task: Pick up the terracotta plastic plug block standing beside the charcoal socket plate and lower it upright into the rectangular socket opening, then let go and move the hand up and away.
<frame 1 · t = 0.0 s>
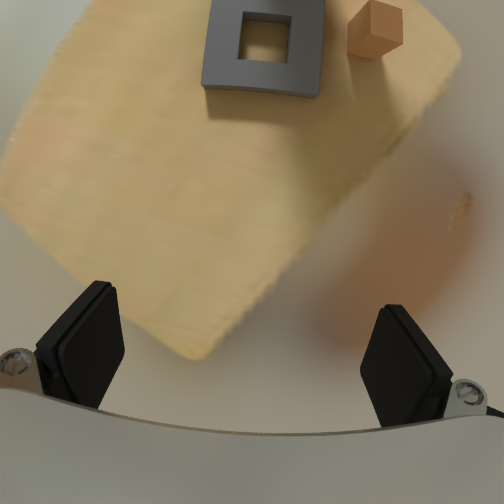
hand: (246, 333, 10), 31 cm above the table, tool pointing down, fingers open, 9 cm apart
socket plate: (264, 43, 33), on the table
plug: (361, 41, 32), on the table
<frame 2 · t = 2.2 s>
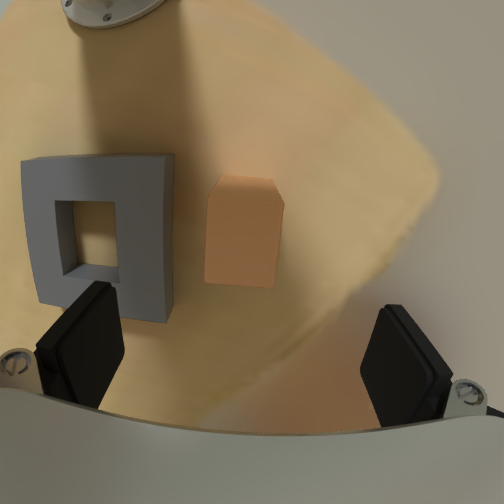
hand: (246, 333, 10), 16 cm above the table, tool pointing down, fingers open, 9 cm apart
socket plate: (100, 230, 26), on the table
plug: (244, 206, 25), on the table
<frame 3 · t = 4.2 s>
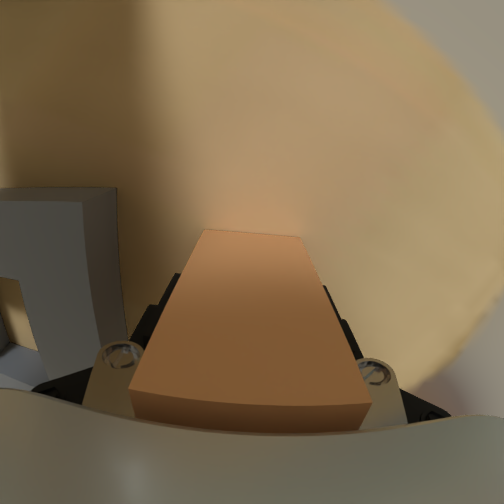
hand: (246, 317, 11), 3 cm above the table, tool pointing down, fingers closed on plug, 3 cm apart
socket plate: (26, 306, 14), on the table
plug: (247, 287, 14), on the table, touching gripper
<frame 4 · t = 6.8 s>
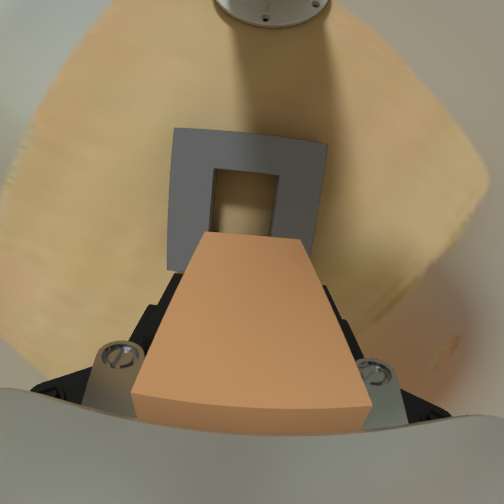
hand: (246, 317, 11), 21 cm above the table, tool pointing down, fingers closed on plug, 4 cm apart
socket plate: (243, 202, 31), on the table
plug: (247, 289, 14), point 19 cm above the table, touching gripper
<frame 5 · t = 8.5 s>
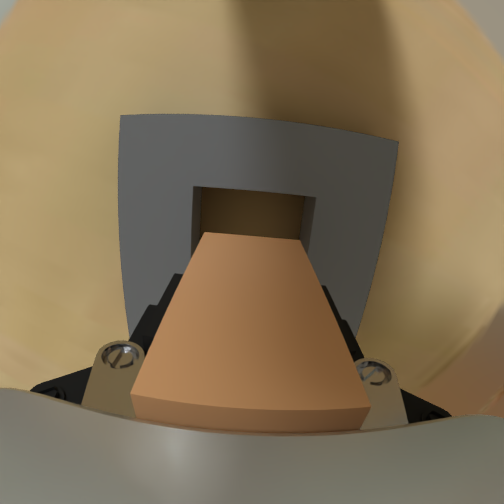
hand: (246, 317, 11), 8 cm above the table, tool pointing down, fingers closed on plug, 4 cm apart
socket plate: (249, 239, 19), on the table
plug: (247, 289, 14), point 5 cm above the table, touching gripper
when the fingers open (4 cm above the table, at t = 9.7 s): plug stays where it is, resting in socket plate.
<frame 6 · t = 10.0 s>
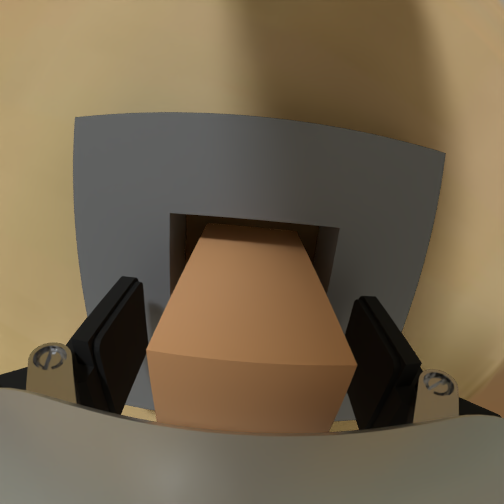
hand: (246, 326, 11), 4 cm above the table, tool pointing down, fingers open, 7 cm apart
socket plate: (247, 275, 15), on the table
plug: (246, 277, 15), resting in socket plate
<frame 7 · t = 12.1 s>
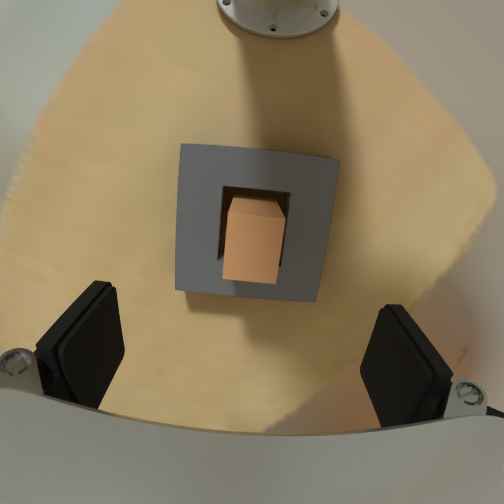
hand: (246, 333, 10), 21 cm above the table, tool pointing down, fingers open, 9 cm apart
socket plate: (252, 219, 30), on the table
plug: (252, 220, 31), resting in socket plate
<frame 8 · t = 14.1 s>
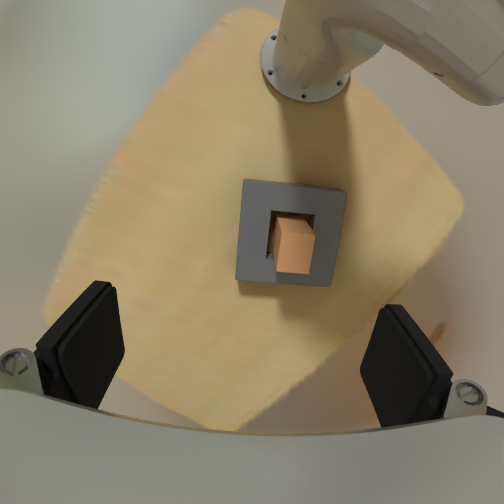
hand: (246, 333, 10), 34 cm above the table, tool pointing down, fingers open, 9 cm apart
socket plate: (287, 231, 45), on the table
plug: (287, 231, 45), resting in socket plate
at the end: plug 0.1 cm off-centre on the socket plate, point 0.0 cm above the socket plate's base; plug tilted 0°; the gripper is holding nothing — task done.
